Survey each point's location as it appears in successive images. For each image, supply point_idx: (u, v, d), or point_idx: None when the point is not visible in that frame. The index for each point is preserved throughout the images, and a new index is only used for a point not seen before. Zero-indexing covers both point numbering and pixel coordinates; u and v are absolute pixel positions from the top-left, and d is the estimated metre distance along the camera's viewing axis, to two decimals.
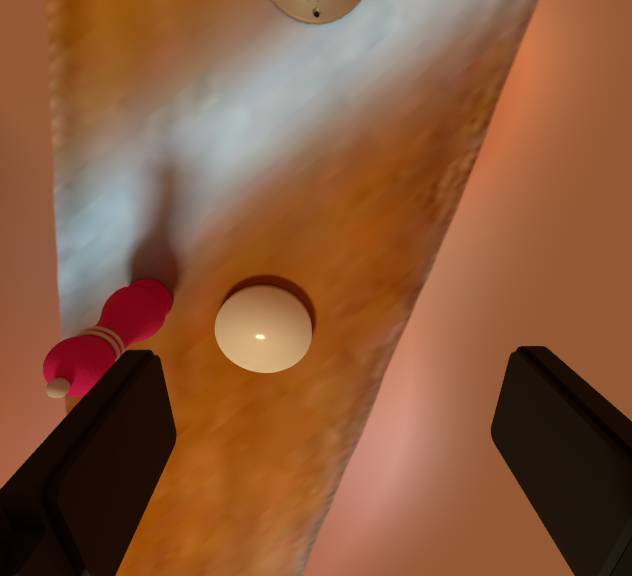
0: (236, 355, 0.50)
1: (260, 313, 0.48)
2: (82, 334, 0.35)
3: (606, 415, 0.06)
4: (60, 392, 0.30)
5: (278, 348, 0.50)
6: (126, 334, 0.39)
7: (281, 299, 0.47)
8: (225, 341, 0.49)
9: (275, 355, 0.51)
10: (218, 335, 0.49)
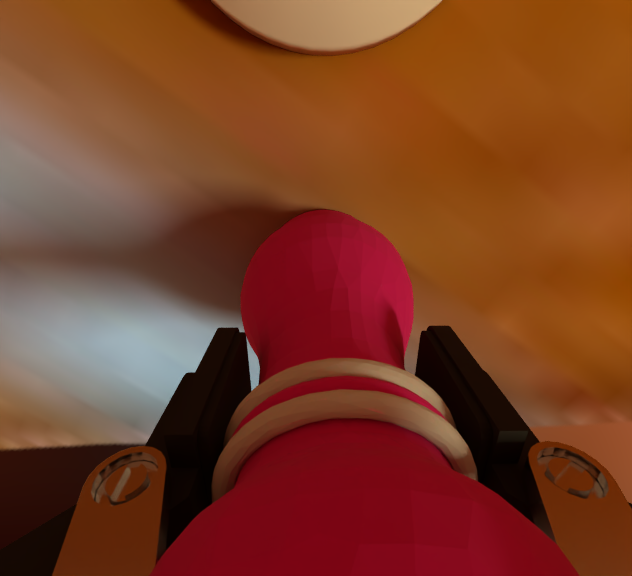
0: None
1: None
2: None
3: (474, 379, 0.07)
4: None
5: None
6: (299, 339, 0.08)
7: None
8: None
9: None
10: (384, 21, 0.13)
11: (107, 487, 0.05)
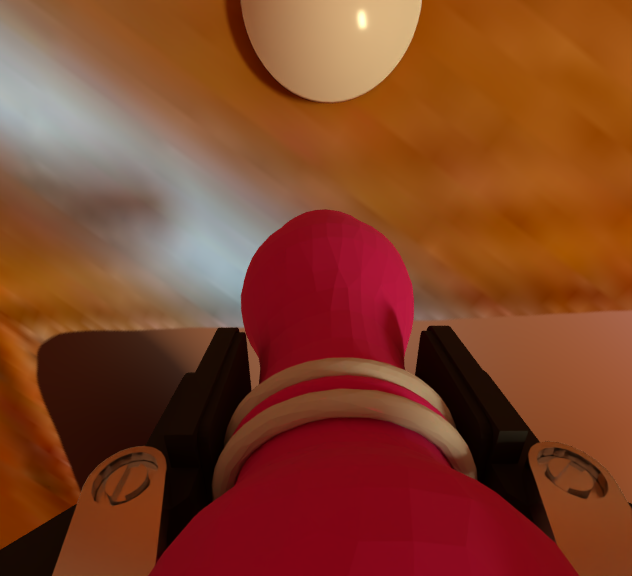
0: (391, 44, 0.27)
1: (292, 16, 0.27)
2: None
3: (474, 379, 0.07)
4: None
5: None
6: (299, 339, 0.08)
7: None
8: (365, 75, 0.28)
9: None
10: (356, 90, 0.28)
11: (107, 487, 0.05)
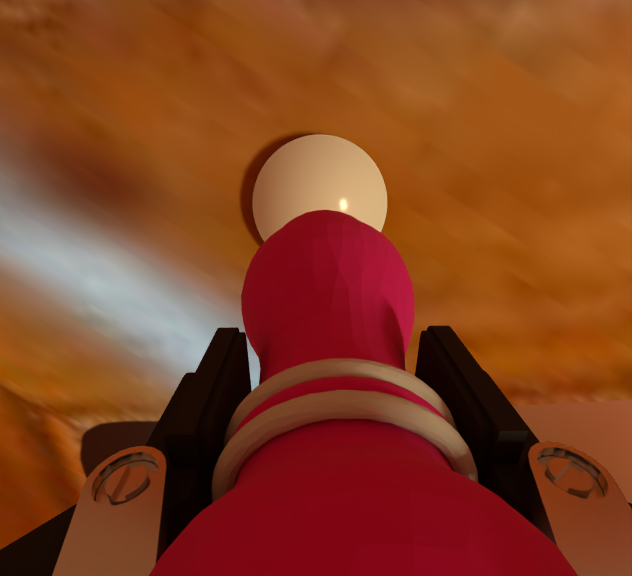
0: None
1: (291, 219, 0.36)
2: None
3: (474, 379, 0.07)
4: None
5: (339, 181, 0.34)
6: (299, 340, 0.08)
7: (261, 197, 0.35)
8: None
9: (352, 182, 0.34)
10: None
11: (107, 487, 0.05)
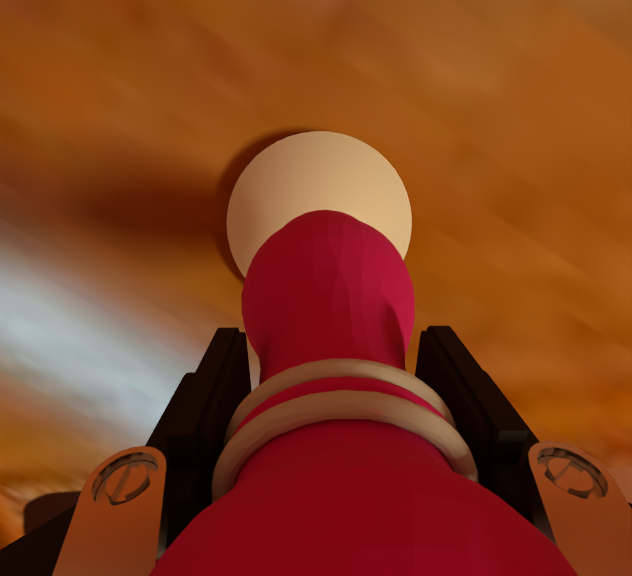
0: None
1: None
2: None
3: (474, 379, 0.07)
4: None
5: (346, 196, 0.25)
6: (299, 340, 0.08)
7: (239, 217, 0.25)
8: None
9: (364, 198, 0.25)
10: None
11: (107, 487, 0.05)
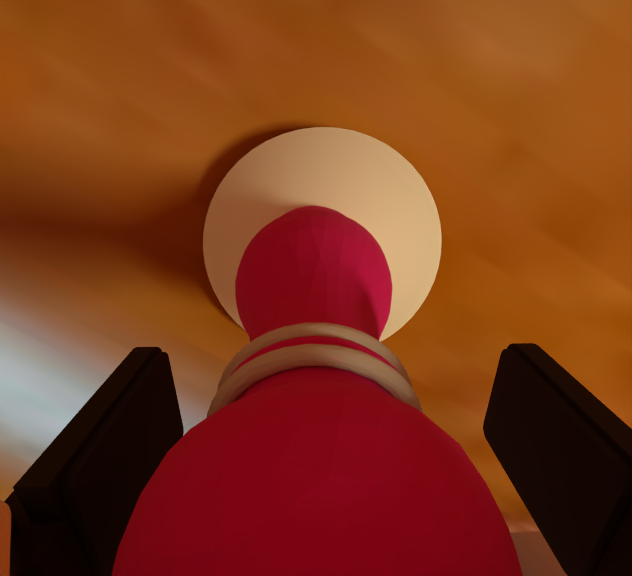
0: (399, 303, 0.21)
1: None
2: None
3: (593, 410, 0.06)
4: None
5: (357, 211, 0.19)
6: (282, 314, 0.10)
7: (219, 239, 0.20)
8: None
9: (381, 214, 0.19)
10: None
11: None
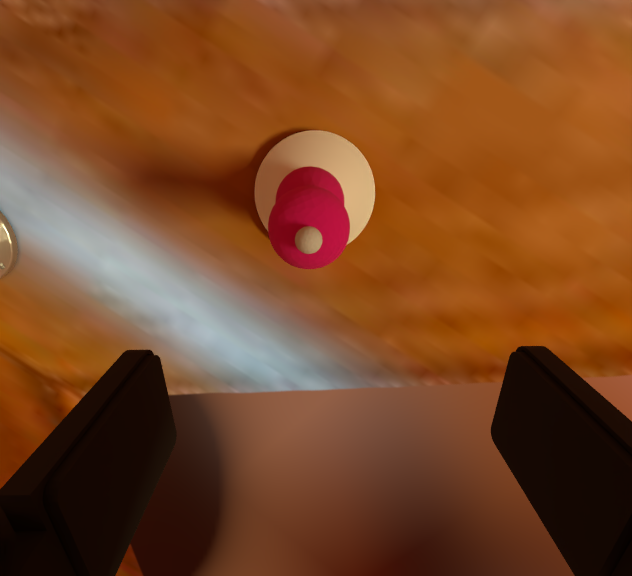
0: (355, 222, 0.41)
1: None
2: None
3: (606, 415, 0.06)
4: (306, 233, 0.21)
5: (332, 172, 0.38)
6: None
7: (263, 186, 0.39)
8: None
9: (344, 173, 0.38)
10: None
11: None
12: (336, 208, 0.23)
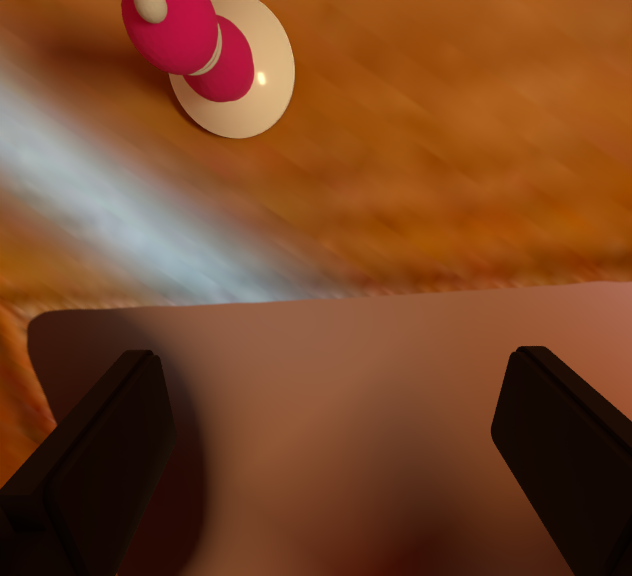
0: (276, 100, 0.39)
1: None
2: None
3: (606, 415, 0.06)
4: None
5: None
6: None
7: None
8: (260, 120, 0.40)
9: (259, 41, 0.37)
10: (255, 130, 0.40)
11: None
12: None
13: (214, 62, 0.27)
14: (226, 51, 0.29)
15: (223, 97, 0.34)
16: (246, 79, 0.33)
